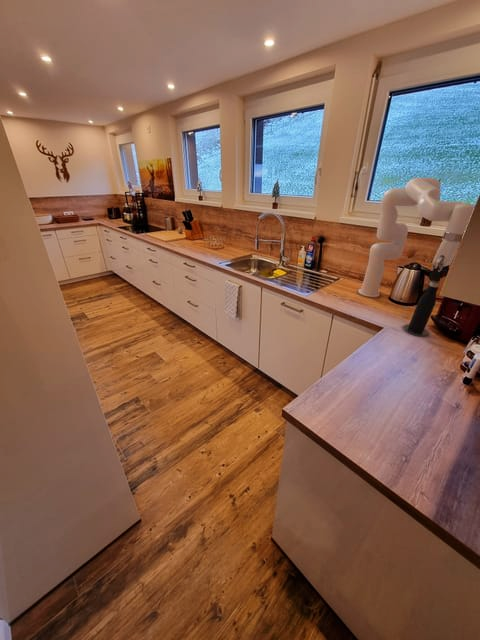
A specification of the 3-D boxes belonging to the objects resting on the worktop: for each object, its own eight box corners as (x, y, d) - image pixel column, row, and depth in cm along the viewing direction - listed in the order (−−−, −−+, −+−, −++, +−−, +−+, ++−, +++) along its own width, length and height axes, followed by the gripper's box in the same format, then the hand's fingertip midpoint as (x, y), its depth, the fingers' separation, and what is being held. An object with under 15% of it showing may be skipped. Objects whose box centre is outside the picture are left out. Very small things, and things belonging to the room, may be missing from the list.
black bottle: (420, 334, 123) (447, 272, 108) (406, 328, 127) (429, 268, 112) (425, 329, 126) (451, 269, 112) (410, 324, 131) (434, 266, 116)
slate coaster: (409, 323, 133) (409, 322, 133) (430, 332, 126) (431, 330, 126) (399, 329, 128) (400, 327, 127) (421, 338, 121) (422, 337, 120)
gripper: (451, 233, 113) (435, 271, 121) (435, 237, 103) (419, 279, 112) (472, 237, 108) (454, 276, 116) (457, 241, 98) (439, 284, 107)
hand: (437, 277), depth 114 cm, fingers open, 9 cm apart
